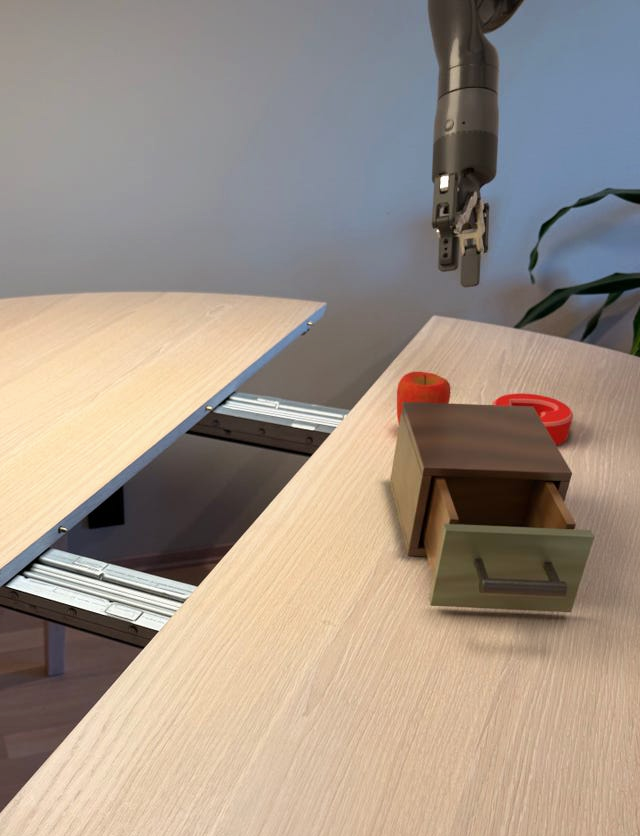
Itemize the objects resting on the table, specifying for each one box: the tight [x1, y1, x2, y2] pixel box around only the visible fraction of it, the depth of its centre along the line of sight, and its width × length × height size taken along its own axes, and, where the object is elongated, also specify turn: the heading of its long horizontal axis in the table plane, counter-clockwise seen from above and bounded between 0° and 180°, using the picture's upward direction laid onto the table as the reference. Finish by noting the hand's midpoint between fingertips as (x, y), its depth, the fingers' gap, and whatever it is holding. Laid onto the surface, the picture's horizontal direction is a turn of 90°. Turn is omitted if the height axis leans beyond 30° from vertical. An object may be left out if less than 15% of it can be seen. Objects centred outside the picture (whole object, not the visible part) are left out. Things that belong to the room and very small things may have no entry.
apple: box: [396, 371, 451, 424], centre depth 120 cm, size 6×6×8 cm
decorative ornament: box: [491, 392, 574, 446], centre depth 122 cm, size 10×10×3 cm
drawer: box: [421, 476, 595, 613], centre depth 91 cm, size 19×13×8 cm, turn 176°
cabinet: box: [389, 402, 573, 557], centre depth 102 cm, size 16×14×10 cm
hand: (459, 278), depth 120 cm, fingers open, 8 cm apart
